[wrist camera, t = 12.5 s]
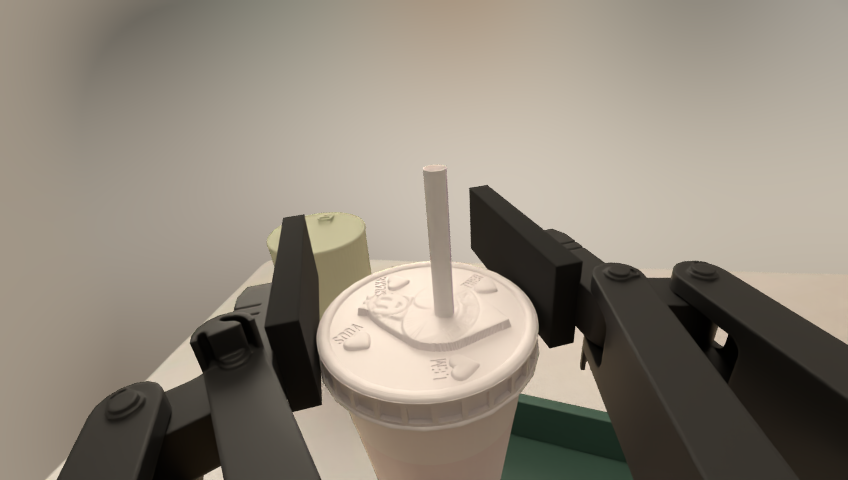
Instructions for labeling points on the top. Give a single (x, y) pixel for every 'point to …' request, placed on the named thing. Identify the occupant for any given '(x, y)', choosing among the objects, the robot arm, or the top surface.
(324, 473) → the top surface
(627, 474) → the bin
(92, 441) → the robot arm
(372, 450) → the smoothie
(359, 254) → the can
